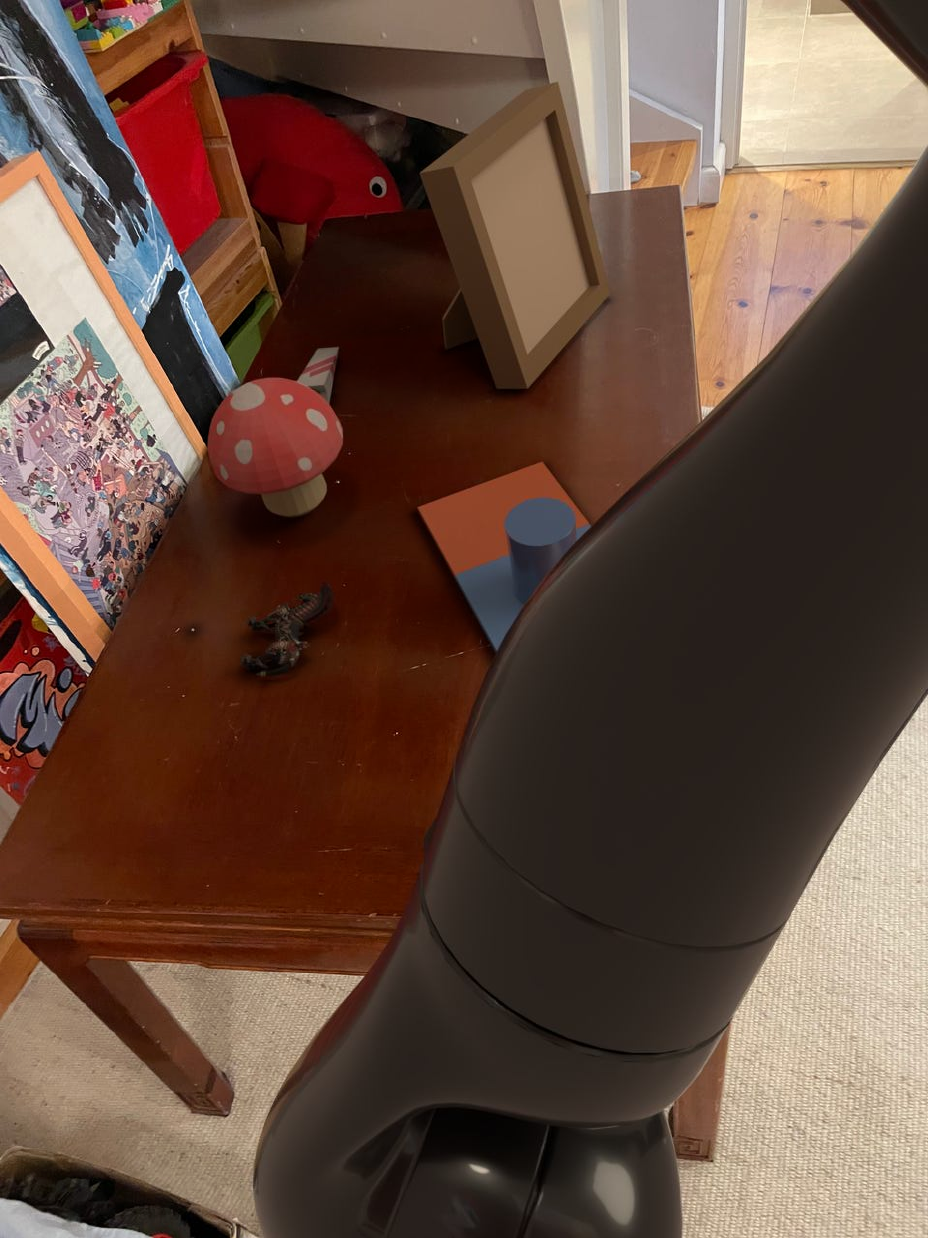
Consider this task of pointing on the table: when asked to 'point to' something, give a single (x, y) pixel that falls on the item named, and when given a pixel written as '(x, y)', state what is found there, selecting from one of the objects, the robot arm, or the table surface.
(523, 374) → the photo frame
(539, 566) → the blue cylinder
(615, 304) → the table surface
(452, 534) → the board
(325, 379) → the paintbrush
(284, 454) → the decorative mushroom
